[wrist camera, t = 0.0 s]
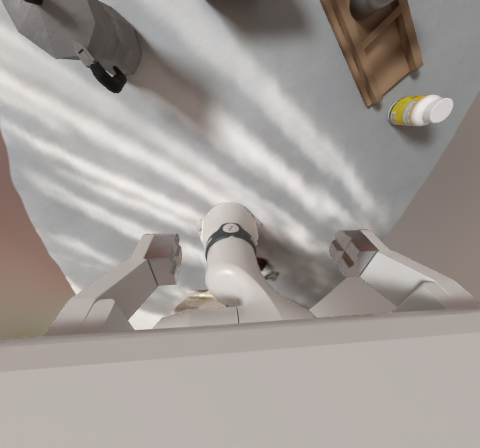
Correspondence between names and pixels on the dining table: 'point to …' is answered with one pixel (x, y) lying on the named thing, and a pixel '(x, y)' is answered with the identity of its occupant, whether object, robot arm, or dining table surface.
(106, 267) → the dining table surface
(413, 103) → the supplement bottle
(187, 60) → the dining table surface
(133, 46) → the coffeepot
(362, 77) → the wooden compartment tray
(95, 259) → the dining table surface
